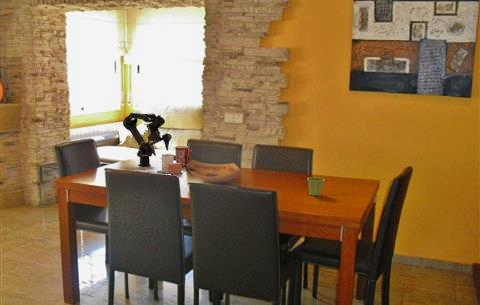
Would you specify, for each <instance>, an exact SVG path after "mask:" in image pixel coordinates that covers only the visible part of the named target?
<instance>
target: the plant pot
mask: <svg viewBox="0 0 480 305" xmlns="http://www.w3.org/2000/svg"><path fill="white" fill-rule="evenodd" d="M306 179H307V184H308V193H309V195H310V196H313V197H315V196H317V197H320V196H321V195H322V191H323V186H324V183H325V180H326V179H324V178H322V177H315V176H314V177H307V178H306Z"/></svg>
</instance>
